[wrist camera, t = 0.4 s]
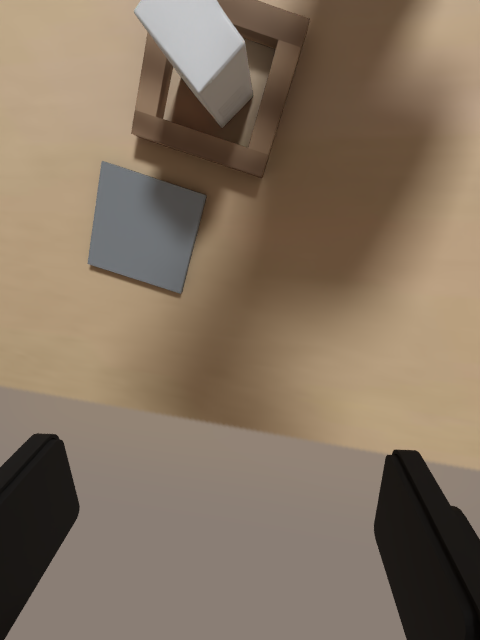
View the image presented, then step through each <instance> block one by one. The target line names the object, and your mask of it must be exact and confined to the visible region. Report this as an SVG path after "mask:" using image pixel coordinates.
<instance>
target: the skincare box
mask: <svg viewBox="0 0 480 640" xmlns="http://www.w3.org/2000/svg"><path fill="white" fill-rule="evenodd" d="M134 13H135V15H136V16H137V18H138V19H139V20H140V22H141V23H142V25H143V26H144V27H145V29H146V30H147V32H148V33H149V34H150V36H151V37H152V38H153V40H154V41H155V43H156V44H157V45H158V47H159V48H160V49H161V51H162V52H163V53H164V55H165V56H166V58H167V59H168V60H169V62H170V63H171V64H172V66H173V67H174V68H175V70H176V71H177V72H178V74H179V75H180V76H181V78H182V79H183V80H184V82H185V83H186V84H187V86H188V87H189V88H190V89H191V91H192V92H193V93H194V95H195V96H196V97H197V98H198V100H199V101H200V102H201V103H202V105H203V106H204V107H205V108H206V109H207V111H208V112H209V113H210V114H211V115H212V117H213V118H214V119H215V121H216V122H217V123H218V124H219V126H220V127H221V128H223V127H224V126H225V125H226V124H227V123H228V122H229V120H230V119H231V118H232V117H233V116H234V115H235V114H236V113H237V112H238V111H239V110H240V109H241V108H242V107H243V106H244V105H245V104H246V103H247V102H248V101H249V100H250V99H251V98H252V97H253V90H252V84H251V78H250V71H249V65H248V58H247V51H246V45H245V41H244V39H243V38H242V36H241V35H240V33H239V32H238V31H237V29H236V28H235V27H234V25H233V24H232V22H231V21H230V19H229V18H228V17H227V15H226V14H225V12H224V11H223V9H222V8H221V6H220V5H219V3H218V1H217V0H141V1H140V3H139V4H138V5H137V7H136V8H135V10H134Z"/></svg>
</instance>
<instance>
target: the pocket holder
mask: <svg viewBox="0 0 480 640" xmlns="http://www.w3.org/2000/svg"><path fill="white" fill-rule="evenodd" d="M217 1H218V3H219V5H220V6H221V8H222V9H223V11H224V12H225V14H226V15H227V17H228V18H229V19H230V21H231V22H232V24H233V25H234V27H235V28H236V29H237V31H238V32H239V33H240V35H241V36H242V38H245V39H248V40H251V41H254V42H257V43H260V44H263V45H266V46H268V47H271V48H274V49H276V51H275V54H274V58H273V62H272V65H271V69H270V72H269V76H268V79H267V83H266V86H265V90H264V93H263V97H262V100H261V104H260V108H259V111H258V115H257V118H256V122H255V125H254V129H253V132H252V136H251V139H250V143H249V146H248V148H247V147H244V146H241V145H238V144H235V143H232V142H229V141H226V140H223V139H220V138H217V137H214V136H211V135H208V134H205V133H202V132H199V131H196V130H194V129H191V128H188V127H185V126H182V125H179V124H176V123H173V122H170V121H167V120H164V119H163V116H164V110H165V105H166V100H167V95H168V90H169V84H170V79H171V74H172V69H173V66H172V64H171V63H170V62H169V60H168V59H167V58H166V56H165V55H164V53H163V52H162V51H161V49H160V48H159V47H158V45H157V44H156V43H155V41H154V40H153V38H152V37H151V36H150V34H149V33H148V34H147V40H146V46H145V52H144V58H143V64H142V71H141V77H140V83H139V89H138V95H137V101H136V107H135V114H134V120H133V126H132V132H131V134H134V135H136V136H138V137H140V138H143V139H146V140H149V141H152V142H155V143H158V144H161V145H164V146H167V147H170V148H173V149H176V150H179V151H182V152H185V153H188V154H191V155H194V156H197V157H200V158H203V159H206V160H209V161H212V162H215V163H218V164H221V165H224V166H227V167H230V168H233V169H236V170H239V171H242V172H245V173H248V174H251V175H254V176H257V177H260V178H262V177H263V173H264V170H265V167H266V164H267V160H268V157H269V154H270V150H271V147H272V144H273V141H274V137H275V134H276V131H277V128H278V124H279V121H280V118H281V114H282V111H283V108H284V105H285V101H286V98H287V95H288V92H289V88H290V85H291V82H292V79H293V75H294V72H295V69H296V65H297V62H298V59H299V56H300V52H301V49H302V46H303V43H304V39H305V36H306V33H307V29H308V25H309V20H310V19H309V18H306V17H303V16H300V15H297V14H295V13H292V12H289V11H286V10H283V9H280V8H277V7H275V6H272V5H269V4H266V3H263V2H260V1H257V0H217Z"/></svg>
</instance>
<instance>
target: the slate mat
mask: <svg viewBox="0 0 480 640" xmlns="http://www.w3.org/2000/svg"><path fill="white" fill-rule="evenodd" d="M206 196H207V195H204V194H201V193H198V192H195V191H192V190H189V189H186V188H183V187H180V186H177V185H174V184H171V183H168V182H165V181H162V180H159V179H156V178H153V177H150V176H147V175H144V174H141V173H138V172H135V171H132V170H129V169H126V168H123V167H120V166H117V165H113V164H110V163H107V162H104V161H102V163H101V170H100V178H99V185H98V192H97V199H96V207H95V214H94V221H93V229H92V236H91V243H90V250H89V258H88V264H90V265H93V266H96V267H99V268H102V269H105V270H108V271H111V272H115V273H118V274H121V275H124V276H127V277H130V278H133V279H136V280H140V281H143V282H146V283H149V284H152V285H155V286H158V287H161V288H164V289H168V290H171V291H174V292H177V293H180V294H181V293H182V291H183V287H184V283H185V279H186V275H187V271H188V267H189V263H190V259H191V256H192V252H193V248H194V244H195V240H196V236H197V232H198V228H199V224H200V220H201V216H202V212H203V208H204V204H205V200H206Z"/></svg>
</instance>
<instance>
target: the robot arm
mask: <svg viewBox="0 0 480 640" xmlns="http://www.w3.org/2000/svg"><path fill="white" fill-rule="evenodd" d="M78 513H79V502H78V498H77V494H76V490H75V486H74V482H73V478H72V474H71V470H70V466H69V462H68V458H67V454H66V451H65V446H64V443H63V441H62V440H60V439H59V437H58V436H57V435H55V434H34V435H32V436H31V437H30V438H29V439H28V440H27V441H26V442H25V443H24V444H23V445H22V446H21V447H20V448H19V449H18V450H17V451H16V452H15V453H14V454H13V455H12V456H11V457H10V458H9V459H8V460H7V461H6V462H5V463H4V464H3V465H2V466H1V467H0V640H4V639H5V637H6V636H7V634H8V632H9V631H10V629H11V627H12V626H13V624H14V622H15V621H16V619H17V617H18V616H19V614H20V612H21V611H22V609H23V607H24V606H25V604H26V602H27V601H28V599H29V597H30V596H31V594H32V592H33V591H34V589H35V587H36V586H37V584H38V582H39V581H40V579H41V577H42V576H43V574H44V572H45V571H46V569H47V567H48V566H49V564H50V562H51V561H52V559H53V557H54V556H55V554H56V552H57V551H58V549H59V547H60V546H61V544H62V542H63V541H64V539H65V537H66V536H67V534H68V532H69V531H70V529H71V527H72V526H73V524H74V522H75V521H76V519H77V516H78ZM374 533H375V539H376V542H377V545H378V549H379V552H380V555H381V558H382V561H383V565H384V568H385V571H386V574H387V577H388V580H389V584H390V587H391V590H392V593H393V597H394V600H395V603H396V606H397V610H398V613H399V616H400V619H401V622H402V625H403V629H404V632H405V635H406V638H407V640H480V539H479V538H478V536H477V535H476V533H475V531H474V530H473V528H472V526H471V525H470V523H469V521H468V520H467V518H466V517H465V515H464V514H463V513H462V511H461V510H460V509H459V508H457V507H455V506H450V504H449V502H448V501H447V499H446V497H445V496H444V494H443V492H442V490H441V489H440V487H439V485H438V484H437V482H436V480H435V479H434V477H433V475H432V473H431V472H430V470H429V468H428V467H427V465H426V463H425V462H424V460H423V458H422V456H421V455H420V453H419V452H418V451H415V450H394V451H393V453H392V455H387V456H386V459H385V465H384V471H383V476H382V482H381V487H380V493H379V499H378V505H377V510H376V517H375V522H374Z"/></svg>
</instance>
